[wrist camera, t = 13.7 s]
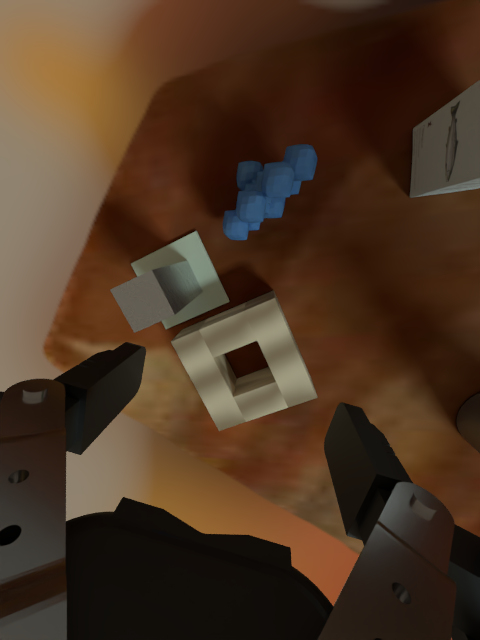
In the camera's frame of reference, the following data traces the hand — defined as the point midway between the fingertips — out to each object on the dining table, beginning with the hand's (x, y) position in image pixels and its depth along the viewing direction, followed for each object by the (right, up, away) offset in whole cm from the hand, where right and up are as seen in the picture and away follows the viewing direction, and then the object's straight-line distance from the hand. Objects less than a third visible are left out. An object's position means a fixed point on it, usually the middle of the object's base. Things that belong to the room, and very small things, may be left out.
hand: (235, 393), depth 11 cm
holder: (+1, -2, +28) cm, 28 cm away
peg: (-8, +8, +26) cm, 28 cm away
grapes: (+3, +18, +23) cm, 29 cm away
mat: (-8, +8, +26) cm, 28 cm away
